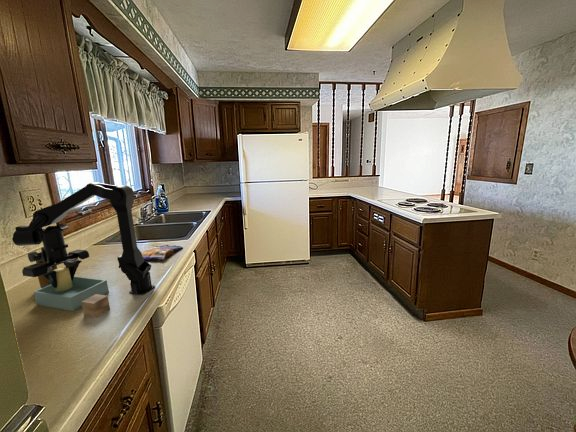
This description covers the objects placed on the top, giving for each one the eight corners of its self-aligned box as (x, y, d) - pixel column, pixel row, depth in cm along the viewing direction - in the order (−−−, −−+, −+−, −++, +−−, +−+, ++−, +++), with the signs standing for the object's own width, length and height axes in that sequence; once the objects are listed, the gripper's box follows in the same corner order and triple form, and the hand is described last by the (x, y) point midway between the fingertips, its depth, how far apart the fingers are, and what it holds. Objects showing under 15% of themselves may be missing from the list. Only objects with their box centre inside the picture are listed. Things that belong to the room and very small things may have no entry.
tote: (74, 287, 107) (72, 275, 106) (108, 292, 102) (106, 280, 101) (36, 304, 95) (33, 291, 93) (73, 311, 90) (70, 297, 89)
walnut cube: (98, 307, 92) (95, 294, 91) (110, 309, 91) (107, 295, 90) (84, 315, 87) (81, 301, 86) (96, 317, 86) (93, 303, 85)
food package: (126, 263, 132) (124, 255, 131) (157, 247, 156) (156, 239, 155) (167, 265, 129) (166, 256, 128) (192, 247, 153) (192, 240, 152)
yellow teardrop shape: (76, 285, 100) (72, 268, 99) (61, 292, 96) (57, 273, 94) (66, 284, 102) (62, 266, 100) (51, 290, 97) (47, 272, 96)
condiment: (48, 283, 111) (42, 255, 108) (70, 282, 112) (64, 254, 109) (34, 292, 104) (26, 262, 101) (57, 290, 105) (51, 261, 102)
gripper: (64, 234, 106) (72, 271, 109) (5, 250, 88) (17, 294, 92) (86, 236, 103) (94, 274, 106) (29, 253, 85) (40, 298, 89)
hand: (63, 284), depth 98 cm, fingers closed on yellow teardrop shape, 5 cm apart
